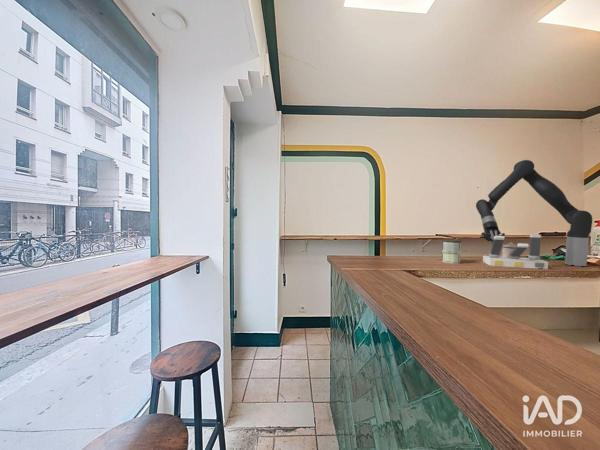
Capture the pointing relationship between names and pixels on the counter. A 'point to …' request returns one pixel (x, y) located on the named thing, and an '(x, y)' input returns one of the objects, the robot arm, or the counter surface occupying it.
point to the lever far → (496, 246)
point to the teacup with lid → (508, 249)
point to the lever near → (534, 247)
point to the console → (515, 262)
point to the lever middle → (518, 250)
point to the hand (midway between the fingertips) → (496, 246)
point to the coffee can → (451, 251)
